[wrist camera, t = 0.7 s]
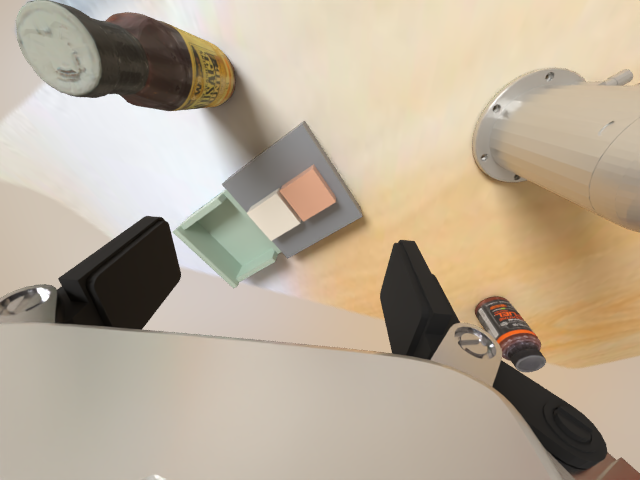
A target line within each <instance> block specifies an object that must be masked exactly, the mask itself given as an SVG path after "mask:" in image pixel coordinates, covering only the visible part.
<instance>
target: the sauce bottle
mask: <svg viewBox="0 0 640 480" xmlns="http://www.w3.org/2000/svg"><path fill="white" fill-rule="evenodd" d="M16 27H17V40H18V43H19V46H20V49H21V51H22V53H23V55H24V57H25V59H26V60H27V62H28V63H29V64H30V65H31V66H32V68H33V69H34V71H35V72H36V73H37V75H38V76H39V77H40V78H41V79H42V80H43V81H45V82H46V83H47V84H48V85H50V86H51V87H53V88H55V89H56V90H58V91H60V92H61V93H65V94H68V95H71V96H75V97H89V98H97V97H101V96H105V95H107V94H119V95H120V96H122V97H123V98H124V99H125V100H126V101H127V102H128V103H131V104H133V105H136V106H141V107H147V108H153V109H159V110H165V111H177V110H188V109H198V108H207V107H216V106H219V105H221V104H223V103H224V102H225V101H227V100H228V99H229V98H230V97H231V95H232V93H233V91H234V90H235V75H234V68H233V66H232V65H231V63H230V61H229V59H228V58H227V56H226V55H225V54H224V53H223V52H222V51H221V50H220V49H219V48H218V47H217V46H215V45H214V44H212V43H210V42H208V41H205V40H203V39H201V38H198V37H196V36H194V35H192V34H189V33H187V32H185V31H183V30H180V29H178V28H176V27H174V26H172V25H169V24H167V23H165V22H162V21H158V20H155V19H153V18H150V17H148V16H145V15H143V14H138V13H131V12H130V13H128V12H127V13H126V12H125V13H118V14H114V15H112V16H111V17H109V18H108V19H107V20H106V21H99V20H95V19H92V18H90V17H89V16H87V15H86V14H84V13H83V12H81V11H79V10H77V9H75V8H73V7H71V6H67V5H64V4H60V3H57V2H53V1H49V0H35V1H30V2H27V3H26V5H25V6H23V7H22V8H21V10H20V11H19V13H18V16H17V19H16Z"/></svg>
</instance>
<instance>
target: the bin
mask: <svg viewBox="0 0 640 480" xmlns="http://www.w3.org/2000/svg"><path fill="white" fill-rule="evenodd" d="M173 233H174V234H175V235H176V236H177V237H178V238H180V239H181V240H182V241H183V242H184V243H185V244H186V245H187V246H188V247H189V248H190V249H191V250H193V251H194V252H195V253H196V254H197V255H198V256H199V257H200V258H201V259H202V260H203V261H204V262H206V263H207V264H208V265H209V266H210V267H211V268H212V269H213V270H214V271H215V272H216V273H217V274H219V275H220V276H221V277H222V278H223V279H224V280H225V281H226V282H227V283H228V284H229V285H231V286H232V287H233V288H235V287H237V286H238V284H239V282H241V281H242V280H244V279H246V278H248V277H249V276H251V275H253V274H255V273H256V272H258V271H260V270H262V269H264V268H265V267H267V266H269V265H271V264H272V263H274V262H276V259H277V256H278V254H279V253H281V251H280V250H279V248H278V247H277V246H276V245H275V244H274V243H273V242H272V241H271V240H270V239H269V238H268V237H267V236H266V235H265V234H264V233H263V231H262V230H261V229H260V228H259V227H258V226H257V225H256V224H255V222H254V221H253V220H252V219H251V218H250V217H249V216H248V215H247V212H246V211H245V210H244V209H243V208H242V207H241V205H240V204H239V203H238V202H237V201H236V200H235V199H234V198H233V196H232V195H231V194H230V193H229V192H228V191H227V190H224V191H223V192H222V193H220V194H219V195H217V196H216V197H215V198H213V199H212V200H211V201H209V202H208V203H207V204H205V205H204V206H203V207H201V208H200V209H199V210H197V211H196V212H194V213H193V214H192V215H190V216H189V217H188V218H187V219H186V220H185V221H184V222H183V223H182V224H181V225H180V226H179V227H177V228H176V229H175V230H174V231H173Z"/></svg>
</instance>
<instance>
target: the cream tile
mask: <svg viewBox="0 0 640 480" xmlns="http://www.w3.org/2000/svg"><path fill="white" fill-rule="evenodd" d="M247 215H248V216H249V217H250V218H251V219H252V220H253V221H254V222H255V224H256V225H257V226H258V227H259V228H260V229H261V230H262V231H263V233H264V234H265V235H266V236H267V237H268V238H269V239H270V240H271V241H272V240H274V239H276V238H277V237H279V236H281V235H282V234H284V233H285V232H287V231H289V230H290V229H292V228H294V227H295V226H297V225H299V224H300V223H301V218H300V217H299V215H298V214H297V213H296V212H295V210H294V209H293V208H292V206H291V205H290V204H289V203H288V201H287V200H286V199H285V198H284V196H283V195H282V194H281V192H280V188H278V189H277V190H275V191H274V192H272V193H271V194H269V195H268V196H266V197H265V198H263V199H262V200H260V201H259V202H257V203H256V204H255V205H253V206H252V207H250V209H249V210H248V212H247Z"/></svg>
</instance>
